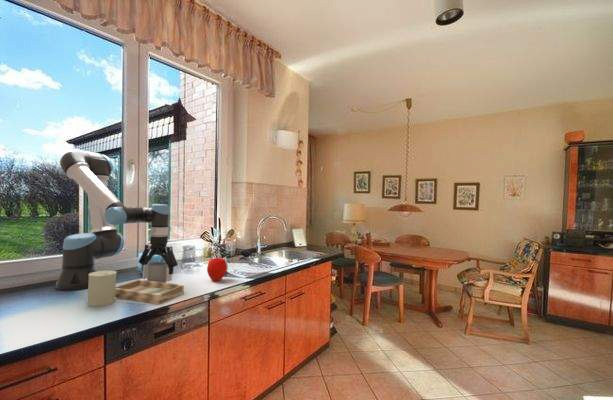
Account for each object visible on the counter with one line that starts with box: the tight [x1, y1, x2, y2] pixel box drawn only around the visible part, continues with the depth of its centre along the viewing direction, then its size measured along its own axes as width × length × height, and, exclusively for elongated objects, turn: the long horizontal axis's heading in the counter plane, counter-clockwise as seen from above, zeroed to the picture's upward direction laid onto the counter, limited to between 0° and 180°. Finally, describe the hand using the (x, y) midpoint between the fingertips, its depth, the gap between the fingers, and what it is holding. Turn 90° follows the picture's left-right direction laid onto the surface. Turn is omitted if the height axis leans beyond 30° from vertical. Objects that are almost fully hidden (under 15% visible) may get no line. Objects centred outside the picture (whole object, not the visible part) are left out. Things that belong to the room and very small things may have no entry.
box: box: [115, 278, 185, 305], centre depth 124 cm, size 24×15×4 cm, turn 76°
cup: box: [146, 262, 167, 283], centre depth 140 cm, size 8×8×10 cm
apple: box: [206, 257, 228, 282], centre depth 151 cm, size 10×10×12 cm
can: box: [86, 269, 117, 308], centre depth 113 cm, size 9×9×12 cm
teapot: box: [137, 251, 168, 275], centre depth 157 cm, size 18×16×13 cm
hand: (157, 279), depth 140 cm, fingers open, 13 cm apart
